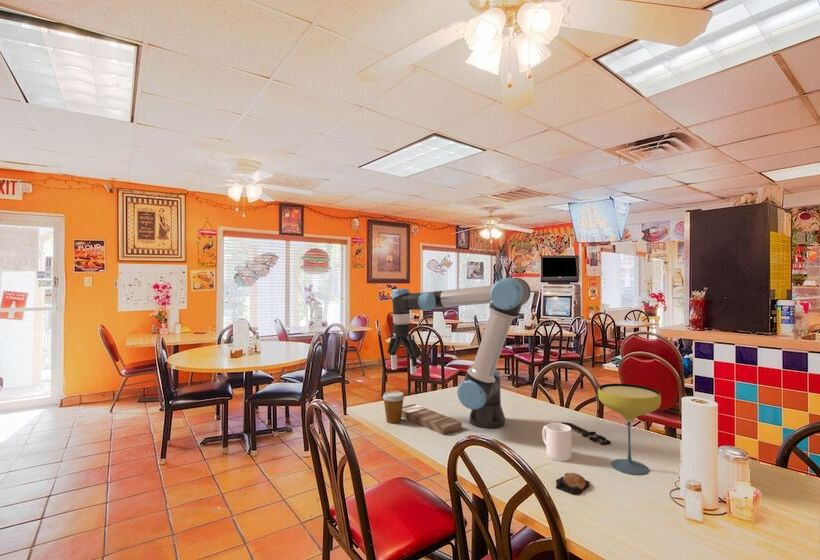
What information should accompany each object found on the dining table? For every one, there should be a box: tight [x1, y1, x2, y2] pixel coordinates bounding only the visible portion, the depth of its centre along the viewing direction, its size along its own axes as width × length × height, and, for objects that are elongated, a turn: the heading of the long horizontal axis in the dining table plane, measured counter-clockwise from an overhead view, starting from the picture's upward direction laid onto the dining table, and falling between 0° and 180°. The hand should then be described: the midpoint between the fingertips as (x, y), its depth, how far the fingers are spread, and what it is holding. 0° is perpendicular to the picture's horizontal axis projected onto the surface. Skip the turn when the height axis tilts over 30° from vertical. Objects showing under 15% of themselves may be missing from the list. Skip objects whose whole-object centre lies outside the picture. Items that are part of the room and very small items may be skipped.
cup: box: [541, 422, 573, 462], centre depth 144 cm, size 8×12×10 cm
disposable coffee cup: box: [382, 390, 405, 424], centre depth 181 cm, size 10×10×12 cm
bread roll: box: [555, 472, 591, 497], centre depth 123 cm, size 11×8×4 cm
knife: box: [560, 421, 612, 446], centre depth 164 cm, size 25×6×1 cm, turn 13°
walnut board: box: [401, 403, 463, 436], centre depth 180 cm, size 32×10×3 cm, turn 37°
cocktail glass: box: [597, 383, 662, 476], centre depth 134 cm, size 18×18×25 cm
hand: (403, 371), depth 182 cm, fingers open, 13 cm apart
